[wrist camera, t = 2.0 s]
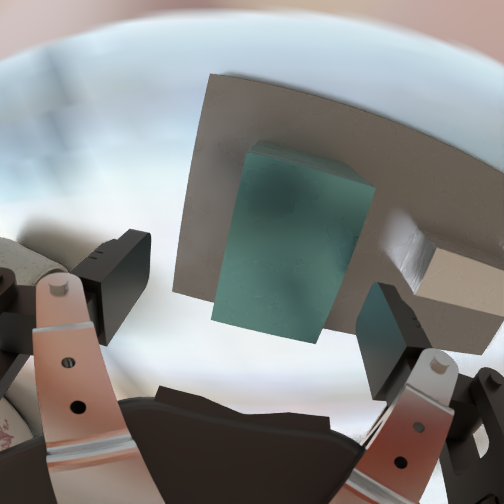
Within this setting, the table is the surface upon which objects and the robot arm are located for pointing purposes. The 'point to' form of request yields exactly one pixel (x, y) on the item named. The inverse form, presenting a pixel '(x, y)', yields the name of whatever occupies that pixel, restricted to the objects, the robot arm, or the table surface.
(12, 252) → the ceramic mug
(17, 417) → the chamber pot
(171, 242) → the table surface
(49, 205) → the table surface
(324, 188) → the block
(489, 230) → the base
